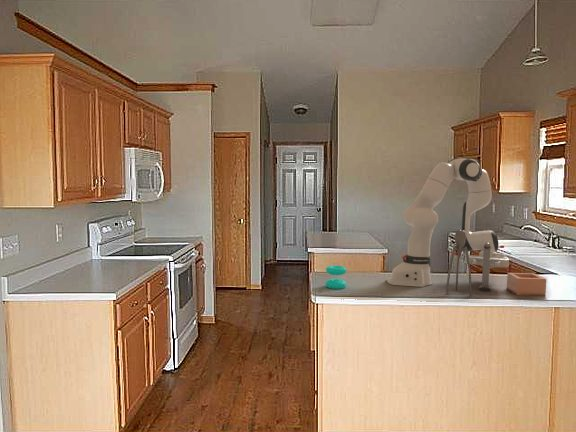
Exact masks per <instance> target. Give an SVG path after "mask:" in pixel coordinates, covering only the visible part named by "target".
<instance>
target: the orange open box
mask: <svg viewBox="0 0 576 432" xmlns="http://www.w3.org/2000/svg"><path fill="white" fill-rule="evenodd" d="M506 290H508V291H509V292H511V293H512V294H514V295H516V296H525V297H526V296H527V297H529V296H530V297H531V296H532V297H546V293H547V291H546V290H547V278H545V277H543V276H541V275H539V274H536V273H535V272H534V273H533V272H532V273H530V272H507V276H506Z"/></svg>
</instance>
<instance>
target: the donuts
mask: <svg viewBox="0 0 576 432" xmlns="http://www.w3.org/2000/svg"><path fill="white" fill-rule="evenodd" d="M325 272H326V273H327V274H328V275H331V276H343V275H345V274H346V272H347V268H346V267H345V266H343V265H329V266H327V267H326V268H325ZM325 286H326V287H327V288H328V289H333V290H342V289H344V288H346V287H347V282H346V281H345V280H343V279H340V278H331V279H328V280H326V282H325Z"/></svg>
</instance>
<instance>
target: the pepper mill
mask: <svg viewBox="0 0 576 432" xmlns="http://www.w3.org/2000/svg"><path fill="white" fill-rule="evenodd" d="M490 249H491V246H490V244H489V243H485V244H484V252H483V267H482V276H481V277H482V278H481V285H479V288H478V289H479V290H478V291H479V292H480V291H481V292H491V291H492V287H491V285H490V283H489V282H490V269H491V268H490Z"/></svg>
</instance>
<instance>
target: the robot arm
mask: <svg viewBox="0 0 576 432" xmlns="http://www.w3.org/2000/svg"><path fill="white" fill-rule="evenodd" d="M489 177H490V176H489V173H488V172H487V170H485V169H483V168H482V167H481V166H480V163H478V161H477V160H475V159H473V158H463V157H462V158H453V159H451V160H449V161H447V162H444V161H443V162H442V161H441V162H439V163H437V164H436V165H435V166H434V168H433V169H432V171H431V173H430V174H429V176H428V178H427V179H426V182H425V183H424V185H423V186H422V189H421V190H420V192H419V193H418V195H417V196H416V197H415V198H414V200H413V201H412V203H411V204H410V205H408V207H406V208H405V209H404V211H403V213H402V219H403V221H404V222H405V223H406V225H408V226H410V227H412V230H411V234H410V235H409V237H408V240H407V254H406V255H405V254H402V255H400V256H401V259H403V260H402V262H401V263H400V264H398V265H397V266H395V267H394V268H393V269H392V270H391V276H389V277H387V278H386V282H387V284H389V285H392V286H403V287H420V288H423V287H426V286H431V285H432V284H433V282H432V277H431V264H432V263H431V262H432V259H431V257H432V256H431V242H432V241H431V240H432V237H433V232H434V229H435V227H437V226H438V224H439V219H440V218H439V215H438V213H437V212H436V211H435V210H433V209H434V208H435V207H436V206H438V204H440V203H441V202H442V200H443V199H444V197H445V194H446V193H447V190H448V189H449V187H450V185H451V183H452V181H453V180H458V181H465V182H466V184H467V190H468V197H467V200H466V201H465V202H464V203H463V206H462V216H461V230H463V231H465V233H466V241H465V245H464V247H466V246H467V250H468V252H473V251H480V252H479V254H478V255H475V254H474V255H473V254H468V255H469V261H470V265H474V266H475V265H477V266H481V267H482V268H483V252H484V244H485V243H489V244H490V246H491V249H490V269H492V268H509V266H510V259H509V257H508V256H507V254H506V253H500V252H497V251H498V250H499V239H498V235H497V234H496V233H495V232H494V230H480V231H470V227H471V226H470V225H471V224H470V223H471V216H472V215H473V214H474V213H476V212H477V211H480V210H481V209H484V208H485V207H487V206H488V205H489V204H490V203H491V201H492V198H493V196H492V195H493V193H492V192H493V191H492V186H491V184H492V183H491V181H490V180H491V179H490V178H489ZM464 263H465V264H466V265H468V264H467V258H466V256H465V258H464Z"/></svg>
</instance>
